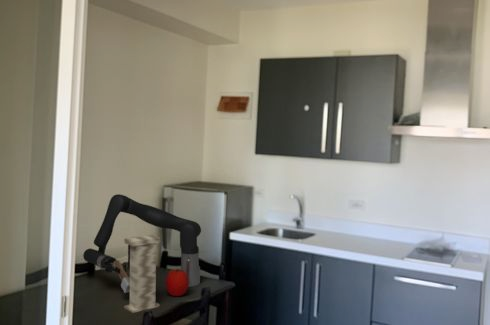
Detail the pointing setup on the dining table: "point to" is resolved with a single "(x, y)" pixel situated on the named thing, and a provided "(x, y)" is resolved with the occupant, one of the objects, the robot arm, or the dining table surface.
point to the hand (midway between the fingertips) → (122, 270)
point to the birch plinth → (142, 273)
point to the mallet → (123, 277)
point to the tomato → (177, 282)
